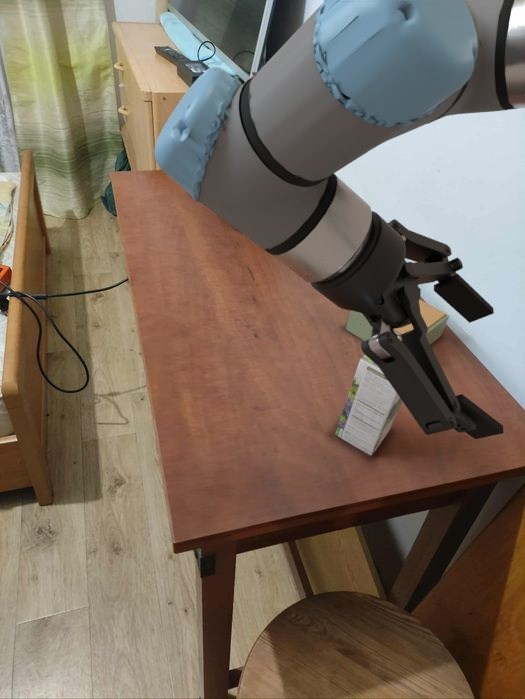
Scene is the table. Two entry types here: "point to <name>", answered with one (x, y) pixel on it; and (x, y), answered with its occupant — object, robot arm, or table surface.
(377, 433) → the syrup box
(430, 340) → the stand
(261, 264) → the table surface
